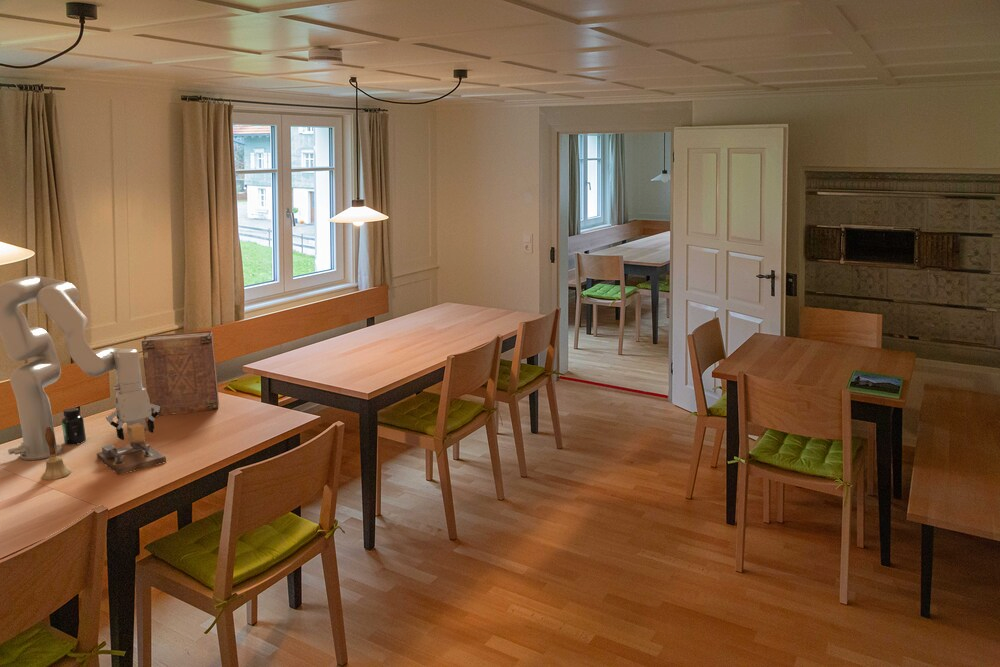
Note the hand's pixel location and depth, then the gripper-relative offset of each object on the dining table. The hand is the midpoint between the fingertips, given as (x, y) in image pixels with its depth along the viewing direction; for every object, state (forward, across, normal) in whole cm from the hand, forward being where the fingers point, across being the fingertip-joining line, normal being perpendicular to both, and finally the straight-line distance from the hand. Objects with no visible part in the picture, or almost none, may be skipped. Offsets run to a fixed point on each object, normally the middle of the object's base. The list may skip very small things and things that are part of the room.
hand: (136, 435), depth 274 cm
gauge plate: (+7, -4, -3) cm, 8 cm away
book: (+7, +32, +38) cm, 50 cm away
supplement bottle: (+7, -11, +30) cm, 33 cm away
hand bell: (+7, -25, +2) cm, 26 cm away
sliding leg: (+4, 0, -3) cm, 6 cm away
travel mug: (+7, +9, +26) cm, 28 cm away
